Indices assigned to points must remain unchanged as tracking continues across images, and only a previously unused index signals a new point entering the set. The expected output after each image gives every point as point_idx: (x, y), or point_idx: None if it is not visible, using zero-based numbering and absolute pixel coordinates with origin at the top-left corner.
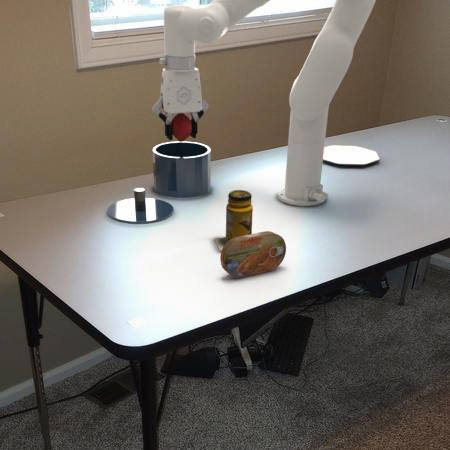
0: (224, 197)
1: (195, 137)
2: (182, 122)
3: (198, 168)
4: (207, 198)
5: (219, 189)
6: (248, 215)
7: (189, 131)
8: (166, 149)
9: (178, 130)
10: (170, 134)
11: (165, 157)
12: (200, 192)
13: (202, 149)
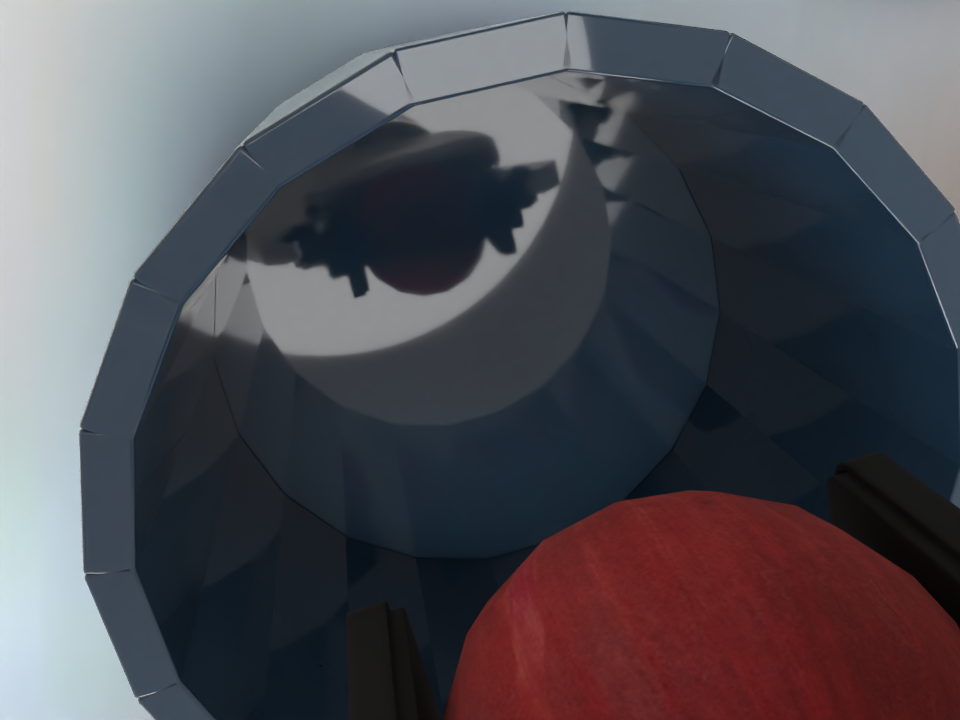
0: (21, 81)
1: (357, 613)
2: (800, 692)
3: (318, 88)
4: (222, 61)
5: (85, 340)
6: None
7: (519, 598)
8: None
9: (816, 528)
10: (932, 497)
11: (878, 129)
12: (298, 93)
13: (233, 691)
